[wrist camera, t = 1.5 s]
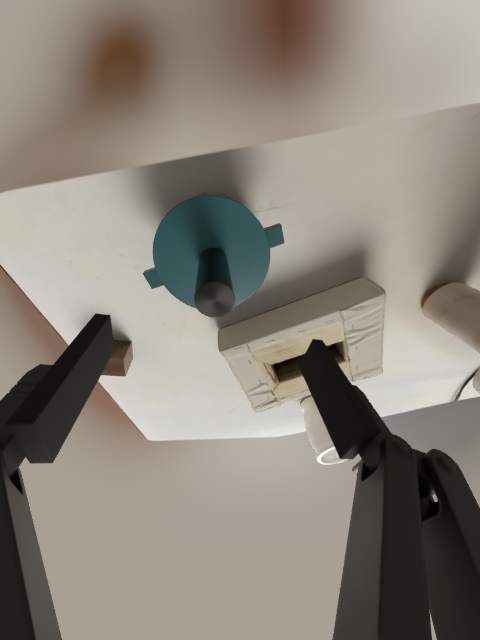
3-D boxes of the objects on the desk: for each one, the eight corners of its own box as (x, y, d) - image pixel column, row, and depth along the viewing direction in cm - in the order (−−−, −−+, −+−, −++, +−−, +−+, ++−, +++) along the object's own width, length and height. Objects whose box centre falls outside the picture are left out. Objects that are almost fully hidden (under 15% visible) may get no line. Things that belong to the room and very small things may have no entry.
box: (250, 391, 59) (367, 352, 55) (255, 417, 53) (388, 376, 49) (215, 328, 46) (364, 273, 43) (215, 353, 40) (390, 290, 36)
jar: (326, 386, 62) (355, 439, 49) (335, 403, 67) (363, 455, 55) (292, 400, 64) (311, 455, 51) (303, 416, 69) (323, 469, 57)
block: (105, 339, 44) (94, 356, 40) (131, 341, 45) (123, 358, 41) (108, 357, 47) (98, 374, 43) (132, 359, 48) (125, 376, 44)
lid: (130, 220, 25) (83, 249, 16) (251, 174, 24) (277, 176, 14) (186, 318, 33) (176, 375, 24) (277, 288, 32) (305, 335, 23)
